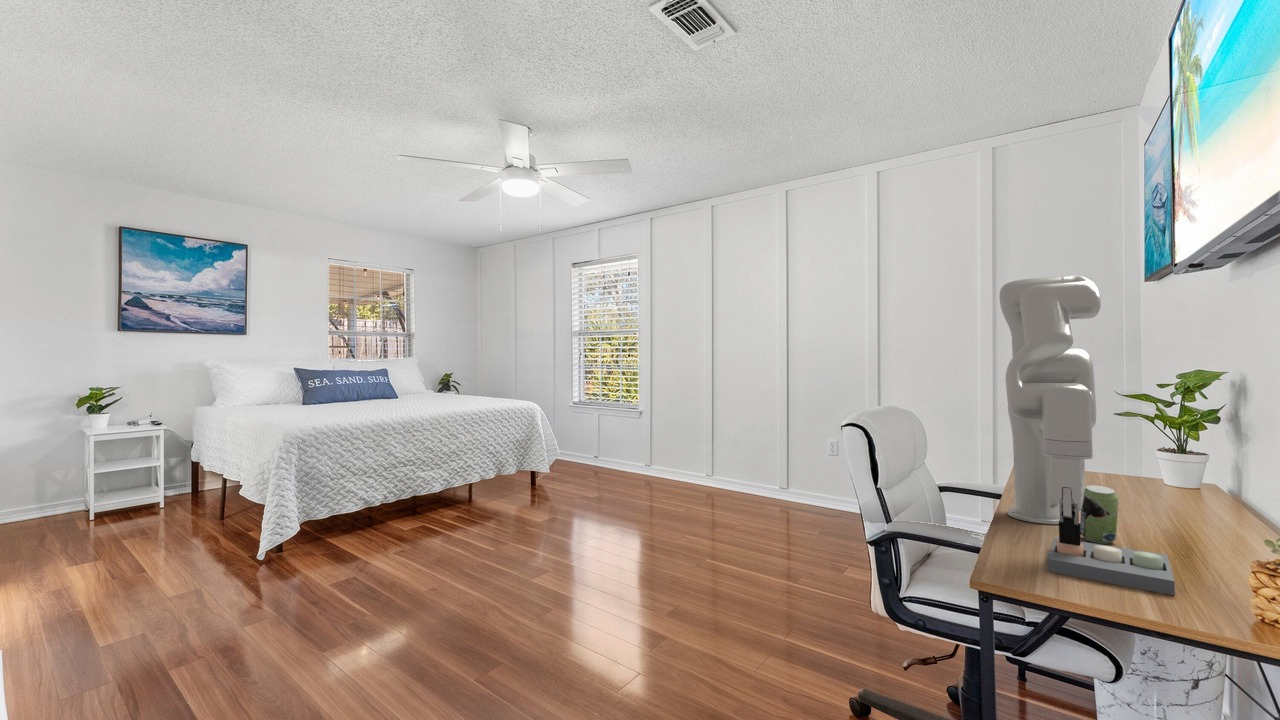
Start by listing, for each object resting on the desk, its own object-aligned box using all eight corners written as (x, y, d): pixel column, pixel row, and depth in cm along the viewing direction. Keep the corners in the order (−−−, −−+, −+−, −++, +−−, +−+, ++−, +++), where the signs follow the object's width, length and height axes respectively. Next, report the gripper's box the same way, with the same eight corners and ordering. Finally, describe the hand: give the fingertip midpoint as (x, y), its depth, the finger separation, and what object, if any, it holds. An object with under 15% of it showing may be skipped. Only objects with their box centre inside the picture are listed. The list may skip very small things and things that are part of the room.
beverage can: (1102, 536, 121) (1100, 482, 121) (1128, 547, 113) (1127, 490, 114) (1072, 536, 121) (1070, 482, 122) (1096, 547, 114) (1094, 490, 114)
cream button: (1094, 563, 104) (1093, 544, 104) (1121, 568, 102) (1121, 548, 102) (1093, 569, 101) (1093, 549, 101) (1122, 574, 99) (1121, 554, 99)
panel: (1054, 548, 113) (1054, 537, 113) (1167, 567, 102) (1167, 554, 102) (1047, 571, 101) (1047, 558, 101) (1174, 595, 90) (1174, 581, 90)
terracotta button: (1058, 557, 108) (1057, 538, 108) (1084, 561, 105) (1083, 542, 105) (1056, 562, 105) (1056, 543, 105) (1083, 567, 102) (1082, 547, 102)
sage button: (1132, 570, 101) (1132, 550, 101) (1162, 575, 98) (1162, 554, 98) (1133, 576, 98) (1132, 555, 98) (1164, 582, 95) (1163, 560, 95)
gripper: (1046, 442, 113) (1049, 530, 113) (1039, 451, 102) (1042, 549, 102) (1093, 445, 108) (1096, 537, 108) (1091, 455, 97) (1094, 558, 97)
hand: (1070, 543), depth 105 cm, fingers closed
